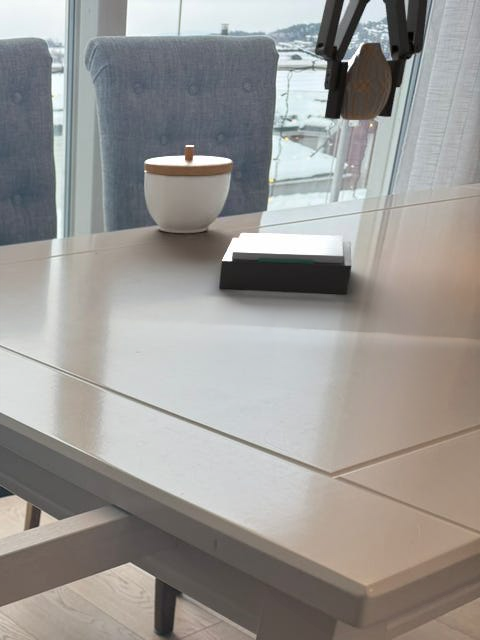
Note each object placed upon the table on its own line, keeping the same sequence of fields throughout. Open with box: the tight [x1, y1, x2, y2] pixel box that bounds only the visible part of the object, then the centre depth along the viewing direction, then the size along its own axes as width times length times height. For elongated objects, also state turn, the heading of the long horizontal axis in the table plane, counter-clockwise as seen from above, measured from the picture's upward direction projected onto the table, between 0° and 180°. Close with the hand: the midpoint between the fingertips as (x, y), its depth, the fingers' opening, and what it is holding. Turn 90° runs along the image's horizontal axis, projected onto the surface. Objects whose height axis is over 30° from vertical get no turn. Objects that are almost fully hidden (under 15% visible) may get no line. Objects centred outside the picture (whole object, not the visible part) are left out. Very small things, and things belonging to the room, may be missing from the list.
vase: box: [340, 42, 392, 121], centre depth 124 cm, size 7×7×9 cm
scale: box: [218, 232, 352, 295], centre depth 110 cm, size 14×14×4 cm
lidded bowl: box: [143, 144, 234, 234], centre depth 136 cm, size 13×13×11 cm
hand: (357, 116), depth 126 cm, fingers closed on vase, 7 cm apart
